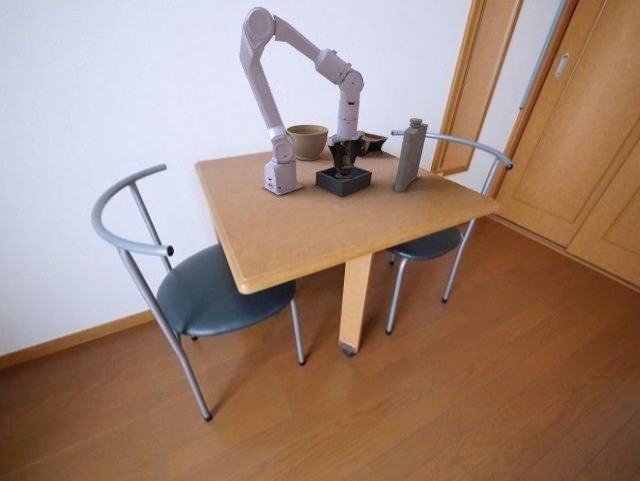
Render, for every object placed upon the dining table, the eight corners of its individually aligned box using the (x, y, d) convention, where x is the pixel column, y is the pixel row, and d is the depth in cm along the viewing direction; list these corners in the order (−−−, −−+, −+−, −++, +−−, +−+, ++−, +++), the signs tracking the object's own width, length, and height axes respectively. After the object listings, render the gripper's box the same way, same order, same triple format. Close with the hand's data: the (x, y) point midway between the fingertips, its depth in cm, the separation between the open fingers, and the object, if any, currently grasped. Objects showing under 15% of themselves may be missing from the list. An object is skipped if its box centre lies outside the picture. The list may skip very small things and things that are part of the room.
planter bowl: (305, 148, 125) (305, 122, 119) (335, 156, 117) (336, 129, 110) (279, 157, 114) (277, 129, 108) (309, 166, 106) (309, 136, 100)
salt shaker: (353, 172, 93) (356, 134, 86) (353, 179, 88) (356, 139, 81) (335, 171, 93) (337, 133, 87) (334, 178, 88) (336, 138, 82)
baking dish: (361, 149, 132) (359, 126, 127) (392, 153, 120) (392, 128, 115) (338, 158, 125) (335, 134, 120) (369, 162, 112) (367, 136, 108)
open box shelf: (342, 197, 85) (343, 183, 83) (315, 185, 92) (315, 171, 89) (370, 185, 93) (372, 172, 90) (344, 175, 100) (345, 162, 97)
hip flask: (402, 192, 89) (415, 124, 77) (390, 189, 90) (401, 122, 79) (417, 177, 100) (431, 115, 89) (406, 174, 102) (418, 114, 90)
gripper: (340, 124, 75) (337, 174, 82) (375, 117, 83) (369, 163, 90) (322, 119, 79) (320, 167, 86) (356, 113, 87) (352, 158, 95)
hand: (344, 165), depth 89 cm, fingers closed on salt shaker, 6 cm apart
